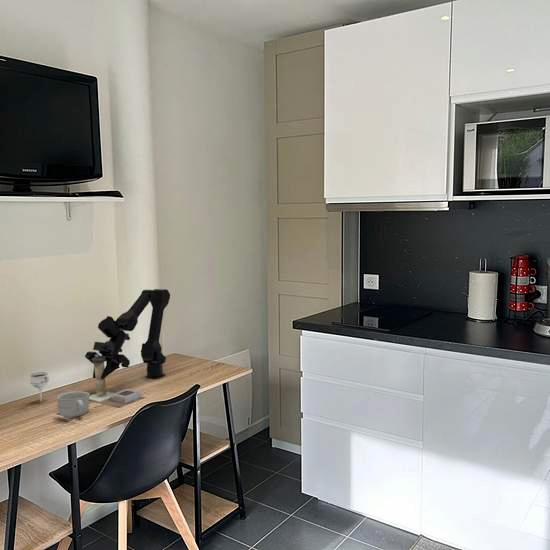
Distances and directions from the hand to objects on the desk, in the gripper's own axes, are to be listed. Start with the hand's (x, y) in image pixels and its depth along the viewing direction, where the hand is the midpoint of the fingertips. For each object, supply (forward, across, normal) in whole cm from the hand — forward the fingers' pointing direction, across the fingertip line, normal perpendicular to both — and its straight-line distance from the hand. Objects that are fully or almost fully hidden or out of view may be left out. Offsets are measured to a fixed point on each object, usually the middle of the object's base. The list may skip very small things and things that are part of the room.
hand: (97, 378), depth 212 cm
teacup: (+18, +4, -5) cm, 20 cm away
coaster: (+5, 0, +7) cm, 8 cm away
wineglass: (+14, -19, -1) cm, 24 cm away
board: (+5, +5, +8) cm, 11 cm away
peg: (+4, 0, +6) cm, 7 cm away
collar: (+4, +11, +8) cm, 14 cm away
